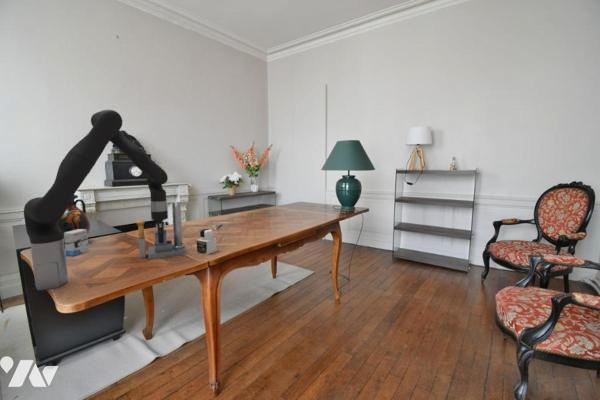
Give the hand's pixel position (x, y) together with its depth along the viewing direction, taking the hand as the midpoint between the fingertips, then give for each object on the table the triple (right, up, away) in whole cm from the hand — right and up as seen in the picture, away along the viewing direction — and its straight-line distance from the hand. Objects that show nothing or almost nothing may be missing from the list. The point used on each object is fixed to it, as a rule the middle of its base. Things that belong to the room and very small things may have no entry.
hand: (161, 241), depth 141 cm
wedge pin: (-7, -1, -4) cm, 9 cm away
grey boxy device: (+22, -7, +4) cm, 23 cm away
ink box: (-43, -7, +1) cm, 43 cm away
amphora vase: (-59, -5, +14) cm, 61 cm away
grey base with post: (0, -7, +1) cm, 7 cm away
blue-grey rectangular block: (0, -4, 0) cm, 4 cm away
